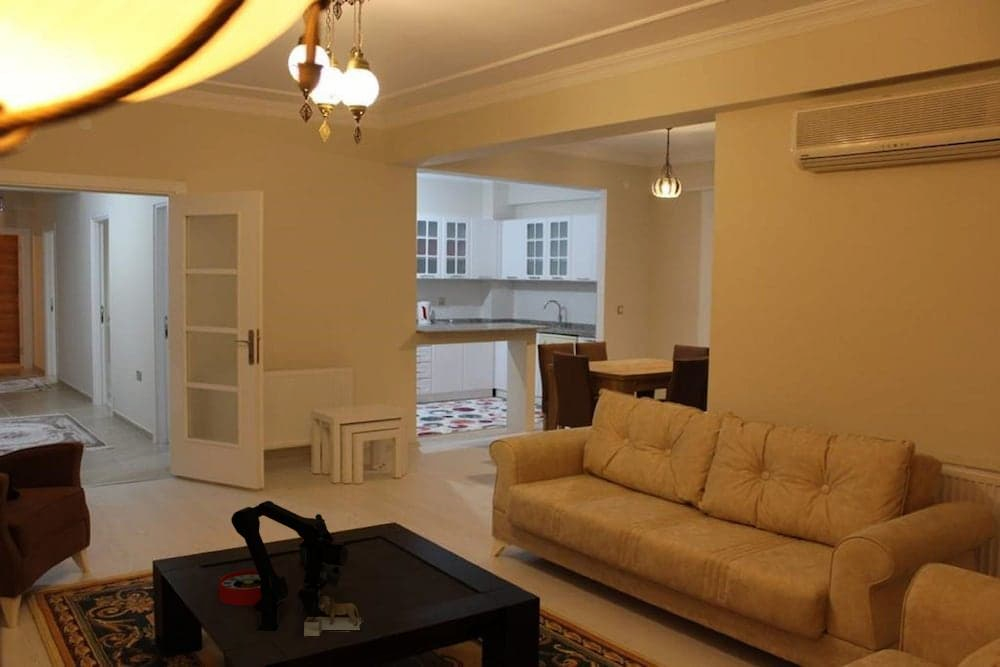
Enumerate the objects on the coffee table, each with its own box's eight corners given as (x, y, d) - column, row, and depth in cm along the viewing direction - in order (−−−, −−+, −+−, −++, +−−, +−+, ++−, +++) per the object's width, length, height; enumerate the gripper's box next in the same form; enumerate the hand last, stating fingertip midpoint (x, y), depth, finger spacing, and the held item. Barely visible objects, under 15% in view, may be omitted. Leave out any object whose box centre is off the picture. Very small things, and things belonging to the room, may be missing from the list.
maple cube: (307, 630, 274) (307, 616, 274) (321, 631, 274) (321, 616, 274) (304, 636, 269) (304, 621, 269) (318, 637, 269) (318, 622, 269)
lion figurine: (316, 626, 276) (317, 598, 276) (319, 620, 281) (319, 592, 281) (363, 626, 277) (363, 599, 276) (364, 620, 282) (365, 593, 282)
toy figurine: (307, 558, 350) (294, 573, 325) (309, 511, 351) (296, 522, 326) (330, 558, 350) (319, 573, 325) (332, 512, 351) (321, 523, 326)
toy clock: (251, 593, 289) (206, 583, 298) (251, 610, 289) (205, 599, 298) (289, 576, 307) (246, 567, 316) (289, 592, 307) (245, 582, 316)
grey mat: (318, 618, 284) (318, 616, 284) (366, 619, 284) (366, 618, 284) (311, 630, 274) (311, 628, 274) (361, 631, 274) (361, 630, 274)
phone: (326, 594, 304) (324, 610, 289) (326, 597, 304) (324, 613, 289) (303, 594, 303) (300, 610, 288) (303, 598, 303) (300, 614, 288)
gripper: (334, 572, 261) (333, 622, 262) (345, 553, 280) (344, 600, 280) (297, 571, 261) (296, 621, 262) (311, 552, 280) (310, 599, 280)
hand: (313, 610), depth 271 cm, fingers open, 9 cm apart
